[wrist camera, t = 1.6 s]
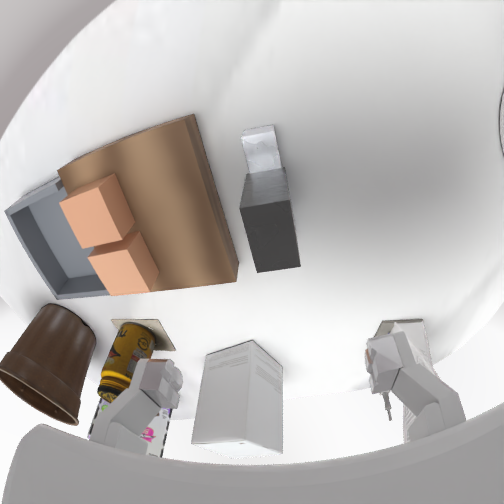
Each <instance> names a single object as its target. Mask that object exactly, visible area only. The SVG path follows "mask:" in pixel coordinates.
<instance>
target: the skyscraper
mask: <svg viewBox="0 0 504 504" xmlns="http://www.w3.org/2000/svg"><path fill="white" fill-rule="evenodd" d="M400 331H403V332H404V333H405V335H406V337H407V340H408V343H409V345H410V348H411V351H412V354H413V356H414V359H415V362H416V364H418V363H420V364H421V365H422V366H424V367H425V368H426V369H427V370H429V371H430V372H431V373H433V374H434V375H435V376H436V377H438V378H439V376H438V375H437V373H436V372H435V371H434V369H433V365H432V359H431V354H430V349H429V344H428V339H427V335H426V330H425V326H424V322H423V319H415V320H393V321H382V322H381V324H380V326H379V328H378V330H377V332H376V334H375V336H374V337H378V336H382V335H386V334H392V333H396V332H400ZM439 379H440V378H439ZM389 392H390V390H389V391H385V392H380V395H383V398H384V401H385V409H386V410H387V411H388V415H389V421H391V420H392V418H391V414H390V409H391V405H390V402H389V396H388V393H389ZM416 418H417V417H416V416H415V415H414V414H413V413H412V412H411V411H410V410H409V409H408V408H407V407H406V406H405V405H404V406H403V435H404V443H408V442H410V437H409V432H408V428H409V427H410V426H411V424H412V423H413V422H414V421H415V419H416Z"/></svg>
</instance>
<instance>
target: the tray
mask: <svg viewBox="0 0 504 504" xmlns="http://www.w3.org/2000/svg"><path fill="white" fill-rule="evenodd" d="M66 196H68V195H67V192H66V190H65V188H64V186H63V183H62V181H61V179H60V177H58V178H56V179H54V180H52V181H50V182H48V183H46V184H44V185H42V186H40V187H39V188H37V189H35V190H33V191H31V192H29V193H28V194H26V195H24V196H23V197H21V198H20V199H19V200H18V201H16V202H15V203H14V204H13V205H11V206H10V207H9V208H8V209H7V210H5V213H6V215H7V218H8V220H9V222H10V224H11V225H12V227H13V229H14V231H15V233H16V235H17V237H18V239H19V241H20V242H21V244H22V246H23V248H24V249H25V251H26V253H27V254H28V256H29V258H30V260H31V261H32V263H33V264H34V266H35V268H36V269H37V271H38V272H39V274H40V275H41V277H42V279H43V280H44V282H45V283H46V285H47V286H48V287H49V289H50V290H51V292H52V293H53V295H54V296H55V298H56V299H57V300H59V299H71V298H83V297H94V296H105V295H110V294H109V292H108V291H107V289H106V287H105V286H104V284H103V283H102V281H101V280H100V278H99V276H98V275H97V273H96V271H95V270H94V268H93V266H92V265H91V263H90V261H89V259H88V258H87V257H88V256H89V255H90V253H91V252H92V251H93V249H94V247H88V248H84V249H82V247H81V245H80V243H79V242H78V240H77V238H76V236H75V234H74V232H73V230H72V228H71V226H70V224H69V222H68V220H67V218H66V216H65V214H64V212H63V210H62V208H61V206H60V204H59V202H60V201H62V200H63V199H64V198H65V197H66Z"/></svg>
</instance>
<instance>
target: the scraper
mask: <svg viewBox="0 0 504 504" xmlns="http://www.w3.org/2000/svg"><path fill="white" fill-rule="evenodd" d="M241 140H242V144H243V148H244V152H245V156H246V160H247V164H248V168H249V172H250V174H247V175H246V179H245V184H244V189H243V194H242V199H241V203H240V212H241V216H242V219H243V223H244V227H245V230H246V234H247V238H248V241H249V245H250V249H251V252H252V256H253V260H254V263H255V267H256V271H257V273H260V272H267V271H274V270H281V269H288V268H295V267H301V265H300V258H299V250H298V243H297V236H296V229H295V223H294V217H293V211H292V205H291V199H290V194H289V188H288V183H287V177H286V172H285V167H283V168H282V165H281V160H280V155H279V150H278V145H277V140H276V135H275V130H274V126H273V125H268V126H263V127H258V128H253V129H248V130H244V131H243V134H242V136H241Z"/></svg>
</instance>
